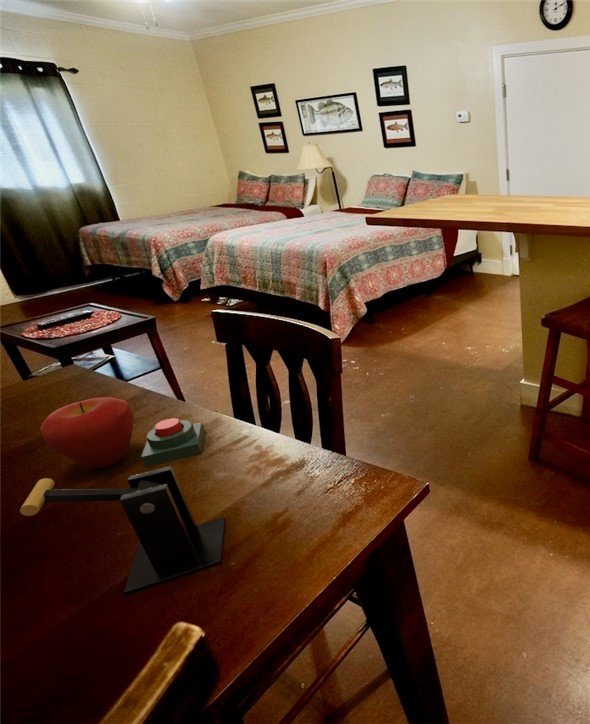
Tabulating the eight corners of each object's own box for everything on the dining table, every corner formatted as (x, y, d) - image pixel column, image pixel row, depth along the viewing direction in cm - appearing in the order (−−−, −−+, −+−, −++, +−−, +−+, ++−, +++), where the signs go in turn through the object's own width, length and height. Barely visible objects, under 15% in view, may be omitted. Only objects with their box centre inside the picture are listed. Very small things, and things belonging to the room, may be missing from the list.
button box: (145, 467, 80) (136, 448, 79) (153, 443, 87) (146, 425, 85) (201, 454, 84) (194, 435, 82) (205, 431, 90) (198, 413, 88)
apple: (154, 437, 88) (129, 380, 83) (140, 470, 80) (112, 409, 75) (78, 453, 84) (47, 394, 79) (54, 489, 75) (18, 426, 70)
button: (156, 439, 82) (152, 431, 81) (159, 429, 84) (156, 421, 84) (181, 434, 83) (177, 425, 82) (183, 424, 86) (180, 416, 85)
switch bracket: (127, 599, 57) (82, 520, 52) (142, 548, 65) (104, 473, 59) (223, 567, 62) (191, 491, 56) (227, 522, 69) (199, 451, 63)
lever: (19, 520, 51) (19, 501, 50) (36, 492, 55) (37, 474, 54) (162, 513, 58) (164, 497, 57) (168, 489, 61) (170, 473, 61)
